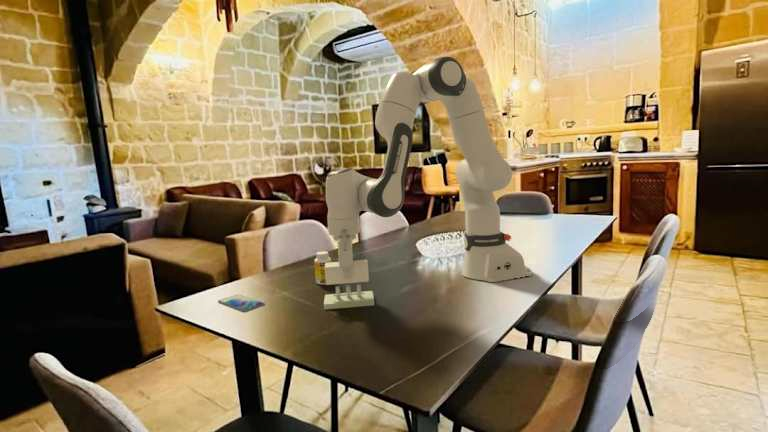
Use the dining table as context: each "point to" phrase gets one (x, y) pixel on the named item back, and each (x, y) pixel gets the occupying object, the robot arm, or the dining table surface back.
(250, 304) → the smartphone
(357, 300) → the board
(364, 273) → the block
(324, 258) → the supplement bottle
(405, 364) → the dining table surface
